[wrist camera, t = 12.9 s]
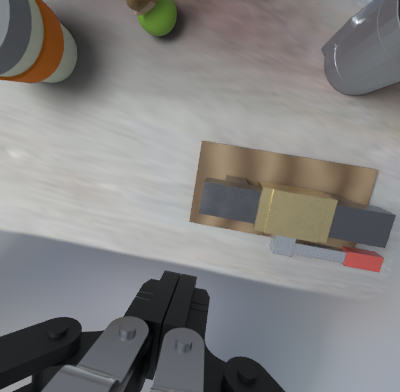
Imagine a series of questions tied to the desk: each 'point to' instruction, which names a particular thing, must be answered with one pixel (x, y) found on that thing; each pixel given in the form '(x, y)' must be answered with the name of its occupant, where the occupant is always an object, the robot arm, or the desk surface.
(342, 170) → the base board
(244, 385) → the robot arm
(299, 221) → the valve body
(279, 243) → the valve lever
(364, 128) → the desk surface
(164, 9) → the snail figurine
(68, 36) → the reusable coffee cup
